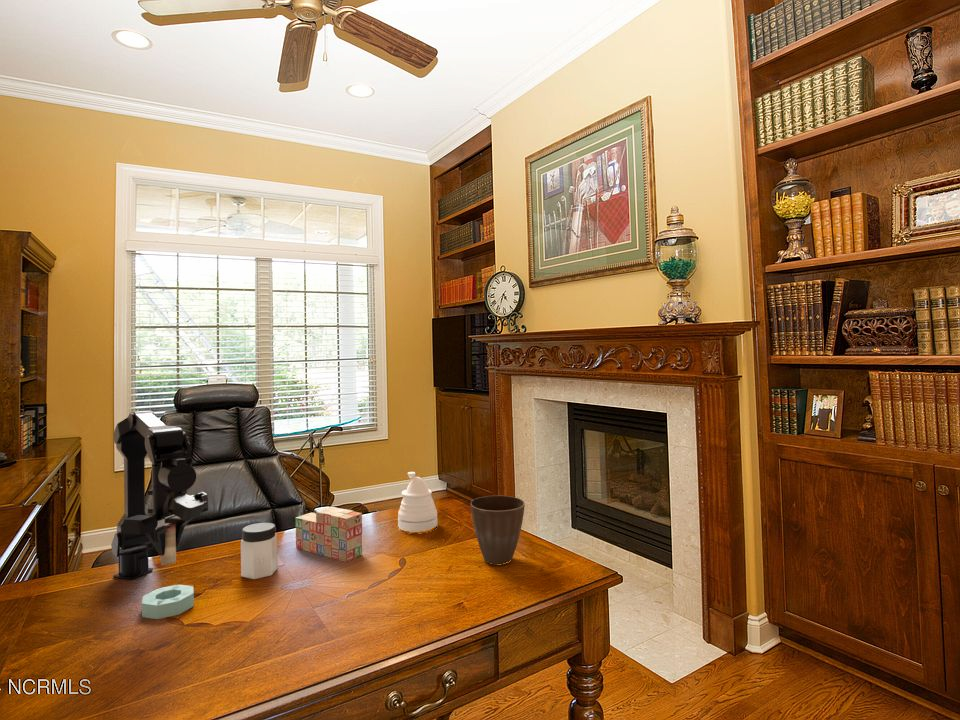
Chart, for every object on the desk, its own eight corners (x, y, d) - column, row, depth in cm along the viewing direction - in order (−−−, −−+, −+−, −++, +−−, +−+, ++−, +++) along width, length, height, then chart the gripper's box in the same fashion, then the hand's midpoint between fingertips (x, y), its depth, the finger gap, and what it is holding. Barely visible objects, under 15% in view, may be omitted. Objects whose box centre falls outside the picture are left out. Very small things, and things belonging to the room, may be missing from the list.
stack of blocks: (295, 548, 159) (294, 507, 158) (312, 542, 164) (311, 502, 164) (346, 562, 147) (346, 517, 147) (363, 555, 153) (362, 512, 152)
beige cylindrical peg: (157, 564, 120) (156, 526, 120) (168, 559, 123) (167, 522, 123) (168, 565, 120) (167, 527, 119) (179, 560, 122) (178, 523, 122)
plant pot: (536, 562, 145) (536, 504, 145) (492, 576, 136) (491, 513, 136) (503, 547, 157) (503, 492, 157) (460, 558, 149) (460, 501, 149)
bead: (131, 615, 118) (131, 601, 118) (169, 595, 128) (169, 583, 128) (168, 620, 115) (167, 607, 115) (203, 600, 125) (203, 587, 125)
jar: (244, 582, 135) (243, 534, 135) (238, 571, 142) (237, 526, 141) (281, 573, 140) (280, 528, 140) (273, 563, 147) (273, 520, 146)
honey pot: (392, 532, 171) (392, 476, 171) (405, 520, 184) (404, 468, 184) (431, 534, 169) (431, 477, 169) (441, 522, 182) (440, 469, 182)
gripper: (160, 496, 110) (161, 572, 110) (226, 476, 128) (227, 541, 128) (118, 493, 113) (119, 567, 113) (188, 474, 131) (189, 538, 131)
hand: (167, 552), depth 121 cm, fingers closed on beige cylindrical peg, 3 cm apart
